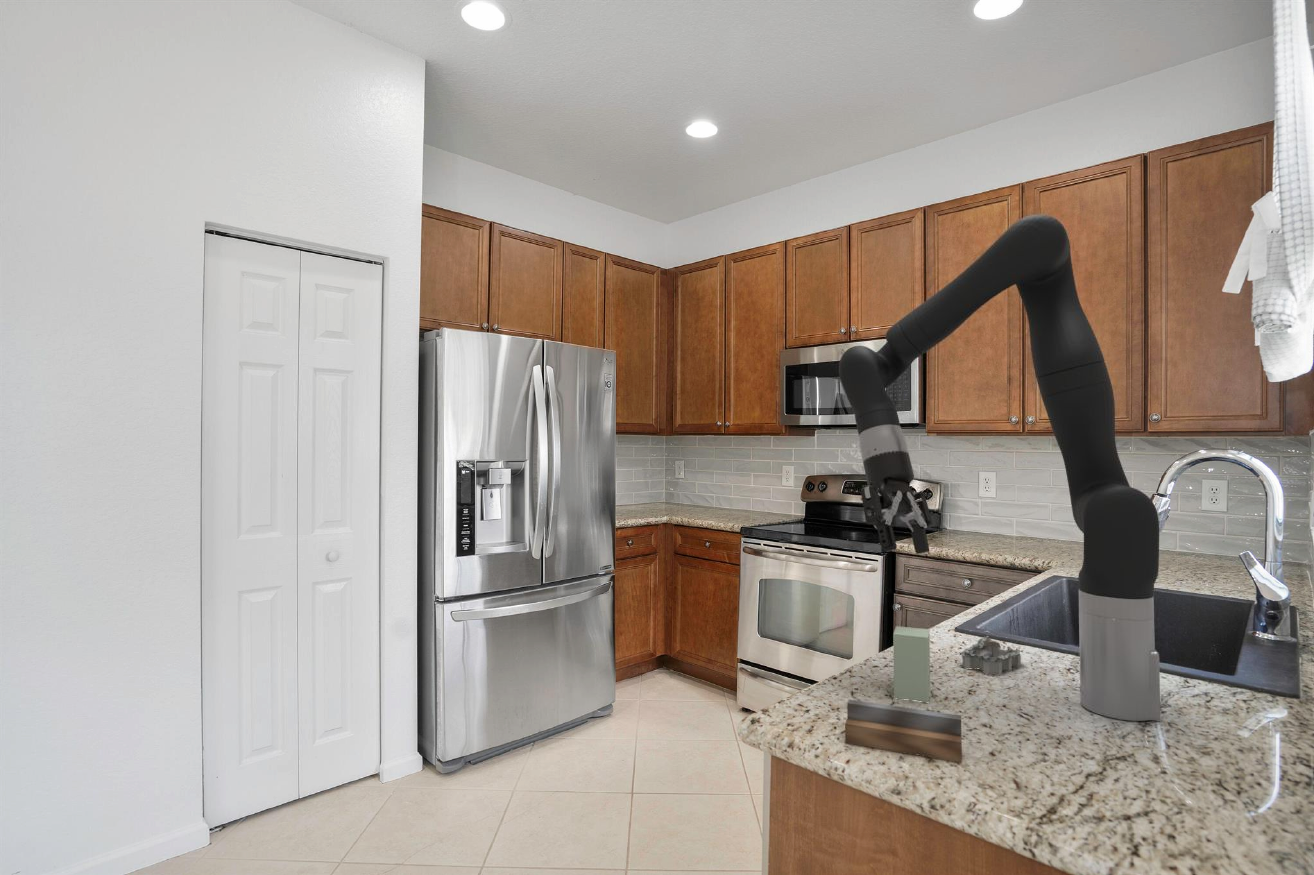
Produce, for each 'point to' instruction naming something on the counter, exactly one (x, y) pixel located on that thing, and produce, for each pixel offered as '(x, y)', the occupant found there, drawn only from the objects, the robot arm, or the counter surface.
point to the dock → (904, 730)
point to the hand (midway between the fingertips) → (906, 551)
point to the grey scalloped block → (990, 657)
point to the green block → (911, 663)
